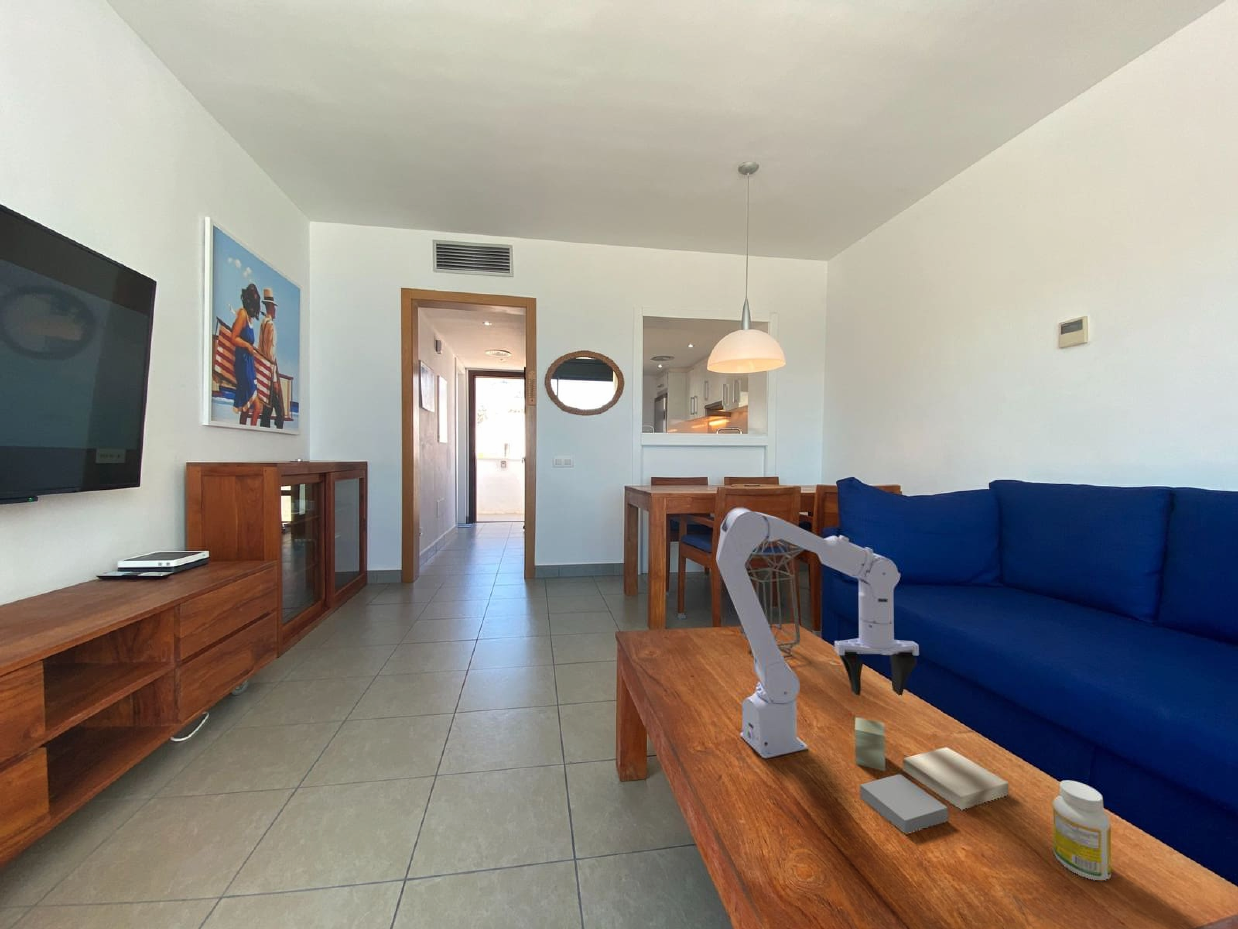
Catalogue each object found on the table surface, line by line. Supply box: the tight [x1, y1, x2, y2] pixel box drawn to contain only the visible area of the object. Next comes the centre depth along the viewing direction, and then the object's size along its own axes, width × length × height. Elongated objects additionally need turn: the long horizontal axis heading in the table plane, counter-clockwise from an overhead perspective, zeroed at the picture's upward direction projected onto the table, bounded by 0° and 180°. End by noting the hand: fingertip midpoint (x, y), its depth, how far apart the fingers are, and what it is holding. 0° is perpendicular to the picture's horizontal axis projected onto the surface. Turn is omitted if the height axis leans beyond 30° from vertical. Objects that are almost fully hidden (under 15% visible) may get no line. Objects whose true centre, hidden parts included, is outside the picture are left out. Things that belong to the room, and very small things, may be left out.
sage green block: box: [854, 716, 886, 772], centre depth 84 cm, size 4×4×6 cm
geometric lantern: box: [740, 539, 806, 658], centre depth 133 cm, size 16×16×35 cm
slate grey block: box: [859, 773, 949, 835], centre depth 72 cm, size 8×8×2 cm
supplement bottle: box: [1052, 779, 1112, 881], centre depth 62 cm, size 5×5×10 cm
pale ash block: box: [902, 747, 1010, 811], centre depth 78 cm, size 10×10×2 cm
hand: (876, 692), depth 89 cm, fingers open, 7 cm apart
